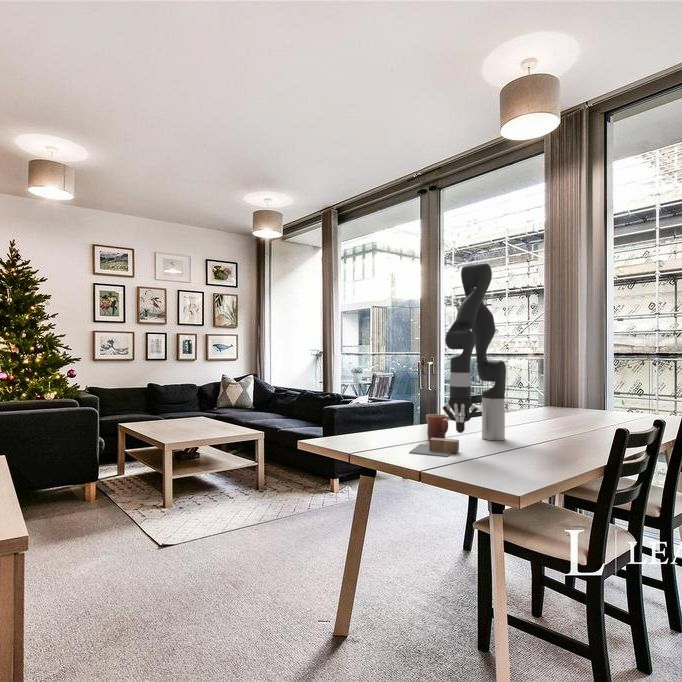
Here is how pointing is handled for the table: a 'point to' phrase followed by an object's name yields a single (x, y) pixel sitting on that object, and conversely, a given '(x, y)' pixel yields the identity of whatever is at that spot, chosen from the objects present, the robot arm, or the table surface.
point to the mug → (436, 426)
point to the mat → (428, 451)
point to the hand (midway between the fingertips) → (460, 432)
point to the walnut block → (444, 445)
